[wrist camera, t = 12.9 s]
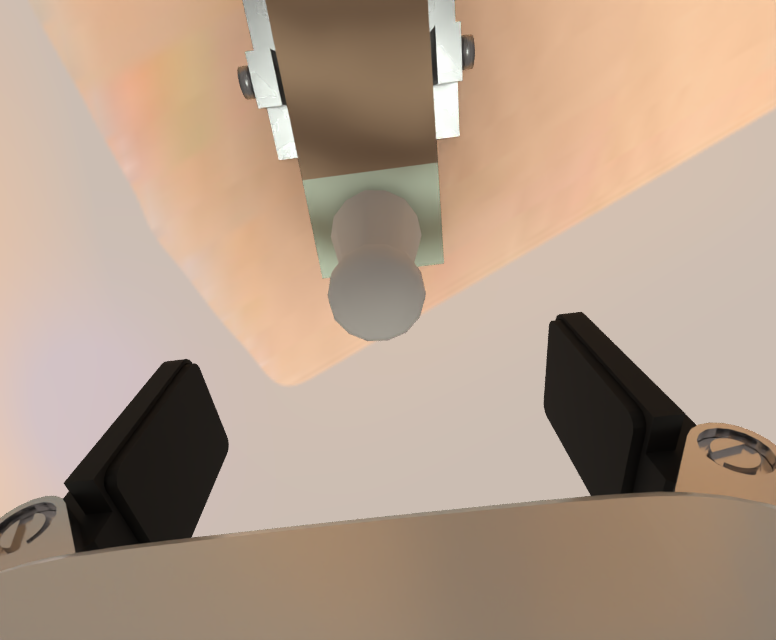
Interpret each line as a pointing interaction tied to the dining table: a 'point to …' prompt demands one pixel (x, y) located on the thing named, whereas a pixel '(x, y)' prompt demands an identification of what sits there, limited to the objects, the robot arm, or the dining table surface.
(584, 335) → the robot arm
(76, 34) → the dining table surface
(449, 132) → the beam stand
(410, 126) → the balance beam
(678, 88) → the dining table surface
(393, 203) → the salt shaker
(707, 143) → the dining table surface
